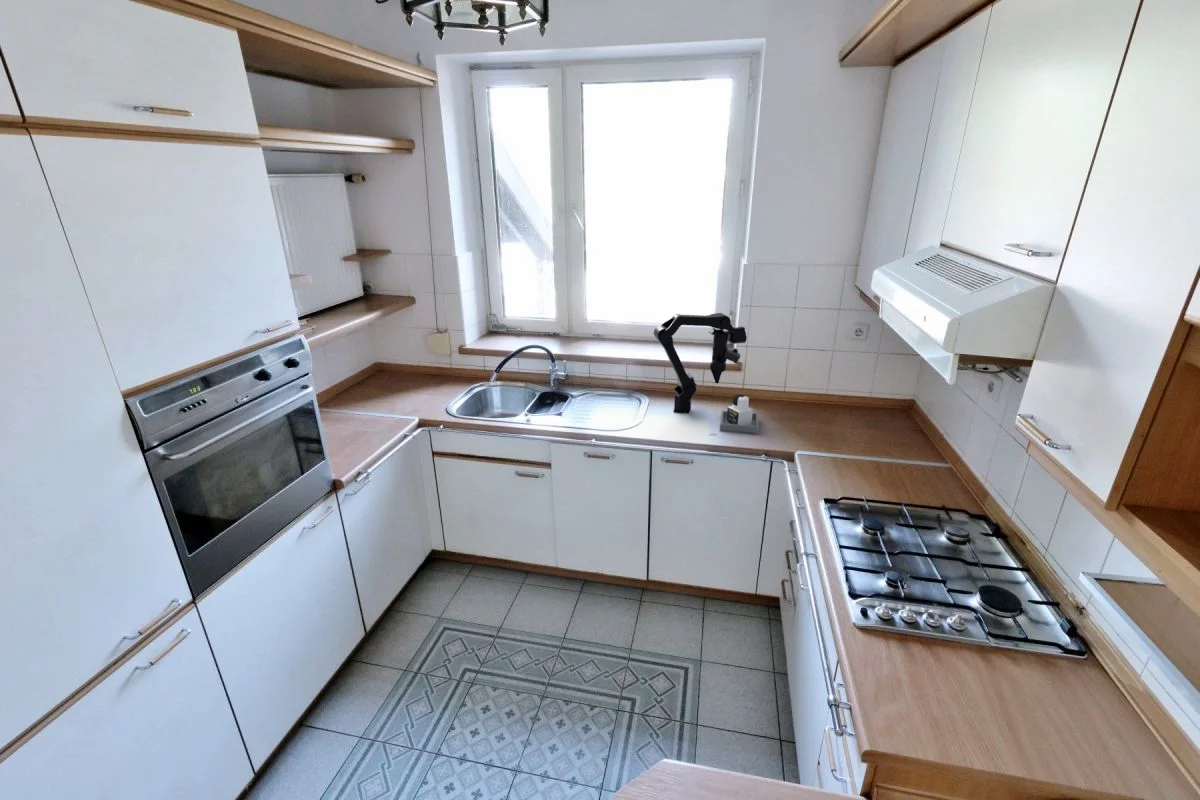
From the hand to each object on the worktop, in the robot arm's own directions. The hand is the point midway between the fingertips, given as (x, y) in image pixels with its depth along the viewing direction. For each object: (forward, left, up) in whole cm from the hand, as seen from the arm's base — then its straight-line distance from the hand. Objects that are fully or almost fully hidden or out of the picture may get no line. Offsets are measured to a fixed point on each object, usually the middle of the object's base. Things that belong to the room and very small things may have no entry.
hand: (717, 379), depth 239 cm
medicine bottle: (+10, -17, -13) cm, 23 cm away
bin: (+10, -17, -13) cm, 24 cm away
